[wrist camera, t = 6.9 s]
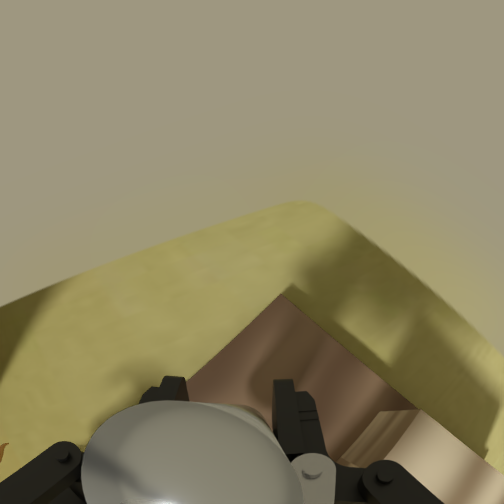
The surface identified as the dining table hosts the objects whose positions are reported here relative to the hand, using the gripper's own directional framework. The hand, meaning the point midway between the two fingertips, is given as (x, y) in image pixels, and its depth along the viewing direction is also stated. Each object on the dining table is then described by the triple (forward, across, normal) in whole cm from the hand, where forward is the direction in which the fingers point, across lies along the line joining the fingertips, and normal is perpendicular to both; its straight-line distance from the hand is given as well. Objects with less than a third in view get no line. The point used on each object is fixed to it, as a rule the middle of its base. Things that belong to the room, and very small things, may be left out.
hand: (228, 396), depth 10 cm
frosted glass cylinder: (+3, 0, +6) cm, 6 cm away
